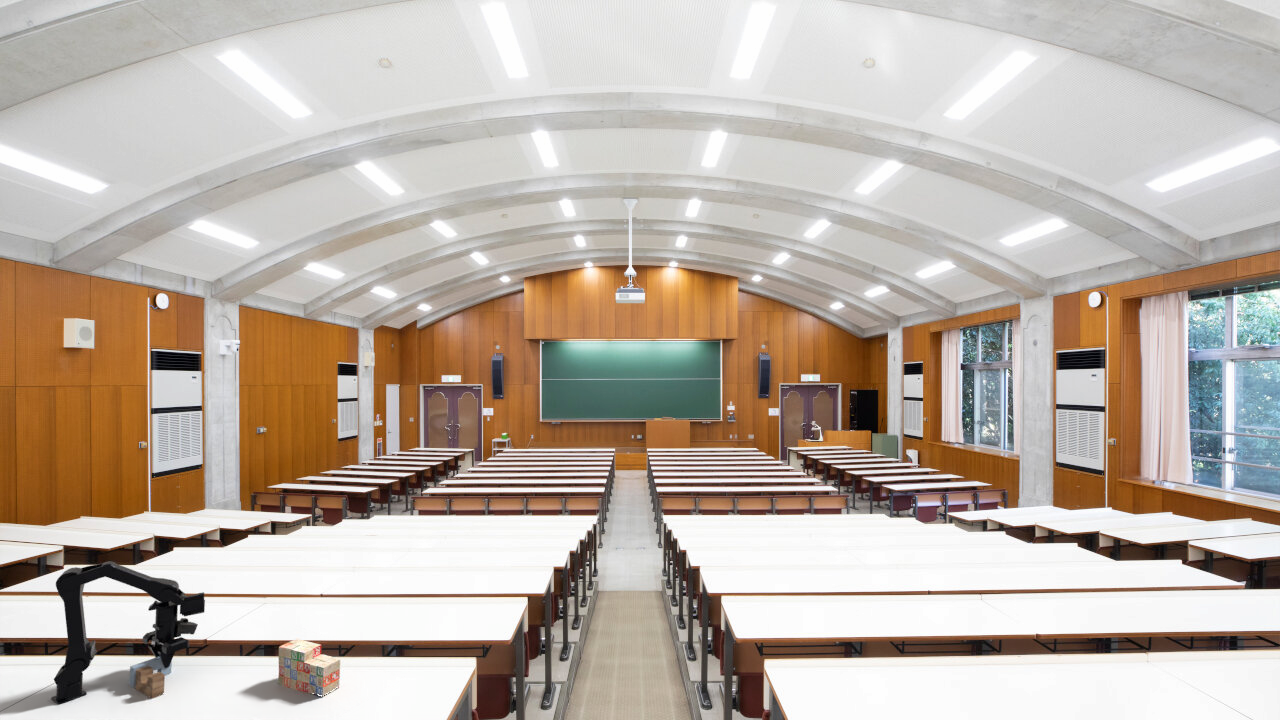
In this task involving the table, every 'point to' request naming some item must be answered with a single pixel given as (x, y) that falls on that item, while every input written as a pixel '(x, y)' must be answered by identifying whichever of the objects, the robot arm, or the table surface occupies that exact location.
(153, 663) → the slate notched plate
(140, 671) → the walnut notched block
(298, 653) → the stack of blocks
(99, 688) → the table surface
